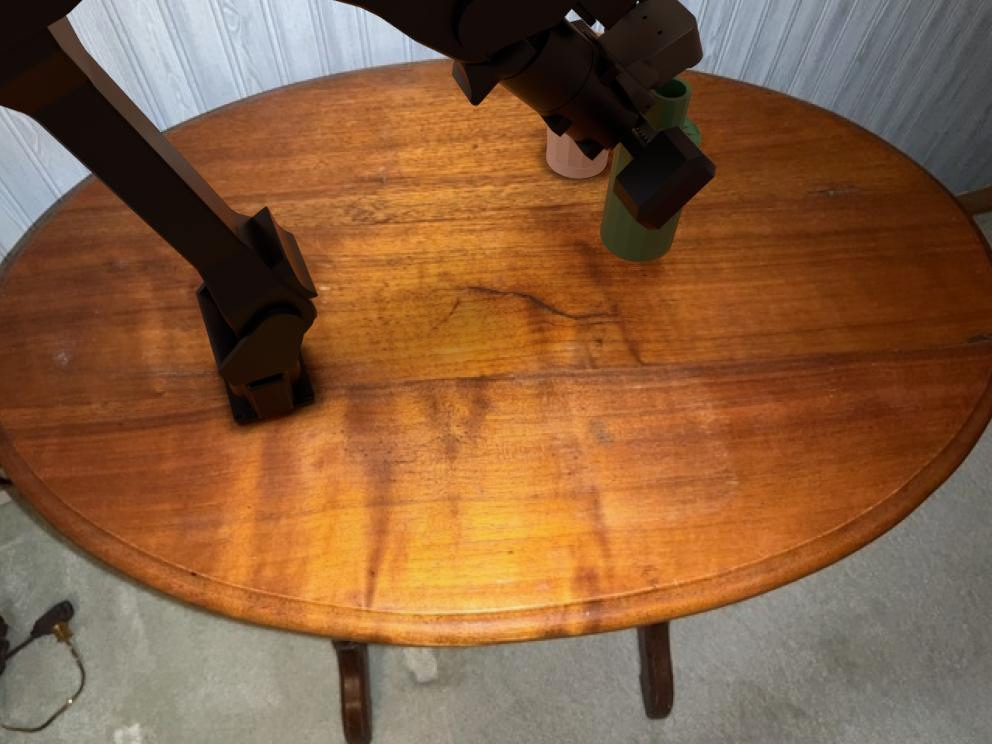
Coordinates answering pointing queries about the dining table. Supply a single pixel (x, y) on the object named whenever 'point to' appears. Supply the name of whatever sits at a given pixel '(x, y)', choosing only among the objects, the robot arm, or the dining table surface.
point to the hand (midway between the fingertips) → (666, 164)
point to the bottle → (616, 221)
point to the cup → (572, 155)
